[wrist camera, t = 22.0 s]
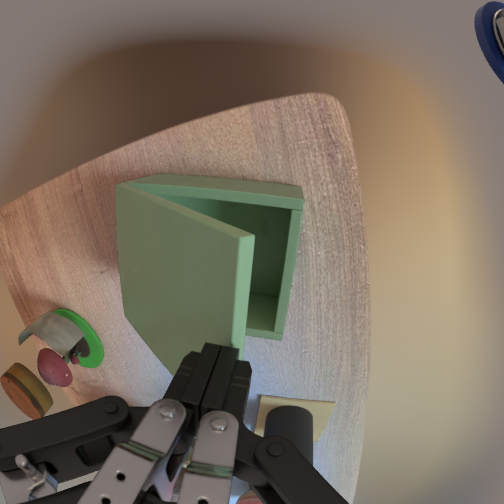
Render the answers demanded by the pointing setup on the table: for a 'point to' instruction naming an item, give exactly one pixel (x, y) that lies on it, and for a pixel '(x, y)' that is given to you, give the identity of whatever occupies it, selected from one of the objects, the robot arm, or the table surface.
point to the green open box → (255, 222)
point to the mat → (316, 408)
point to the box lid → (181, 275)
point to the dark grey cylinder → (292, 427)
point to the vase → (249, 498)
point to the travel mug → (174, 497)
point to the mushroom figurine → (52, 360)
